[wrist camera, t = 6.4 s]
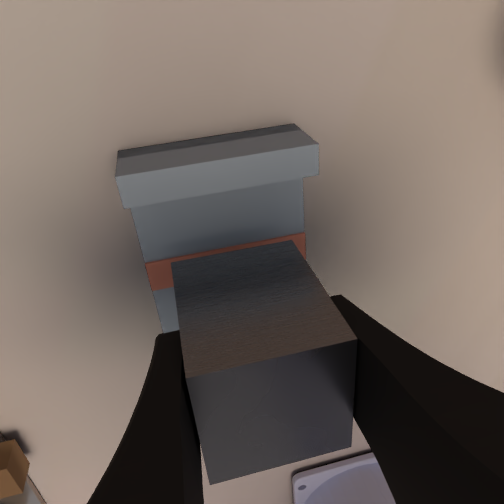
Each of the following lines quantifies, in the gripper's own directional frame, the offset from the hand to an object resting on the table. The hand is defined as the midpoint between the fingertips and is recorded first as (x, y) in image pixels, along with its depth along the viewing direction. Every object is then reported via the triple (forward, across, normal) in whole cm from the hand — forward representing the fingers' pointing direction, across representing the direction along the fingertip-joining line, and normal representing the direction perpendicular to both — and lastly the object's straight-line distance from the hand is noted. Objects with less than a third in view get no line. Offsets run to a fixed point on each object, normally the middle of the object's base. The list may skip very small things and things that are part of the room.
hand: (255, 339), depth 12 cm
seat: (+5, 0, 0) cm, 5 cm away
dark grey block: (+3, 0, 0) cm, 3 cm away
